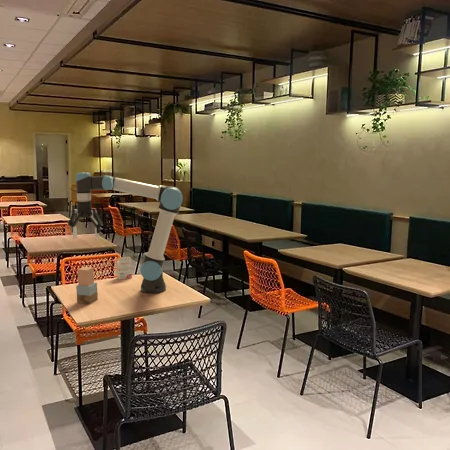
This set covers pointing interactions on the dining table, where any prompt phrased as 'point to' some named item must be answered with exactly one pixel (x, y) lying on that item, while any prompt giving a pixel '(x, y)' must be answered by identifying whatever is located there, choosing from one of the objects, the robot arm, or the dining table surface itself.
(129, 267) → the ink cartridge box
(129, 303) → the dining table surface
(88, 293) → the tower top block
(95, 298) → the tower base block
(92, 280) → the terracotta block
